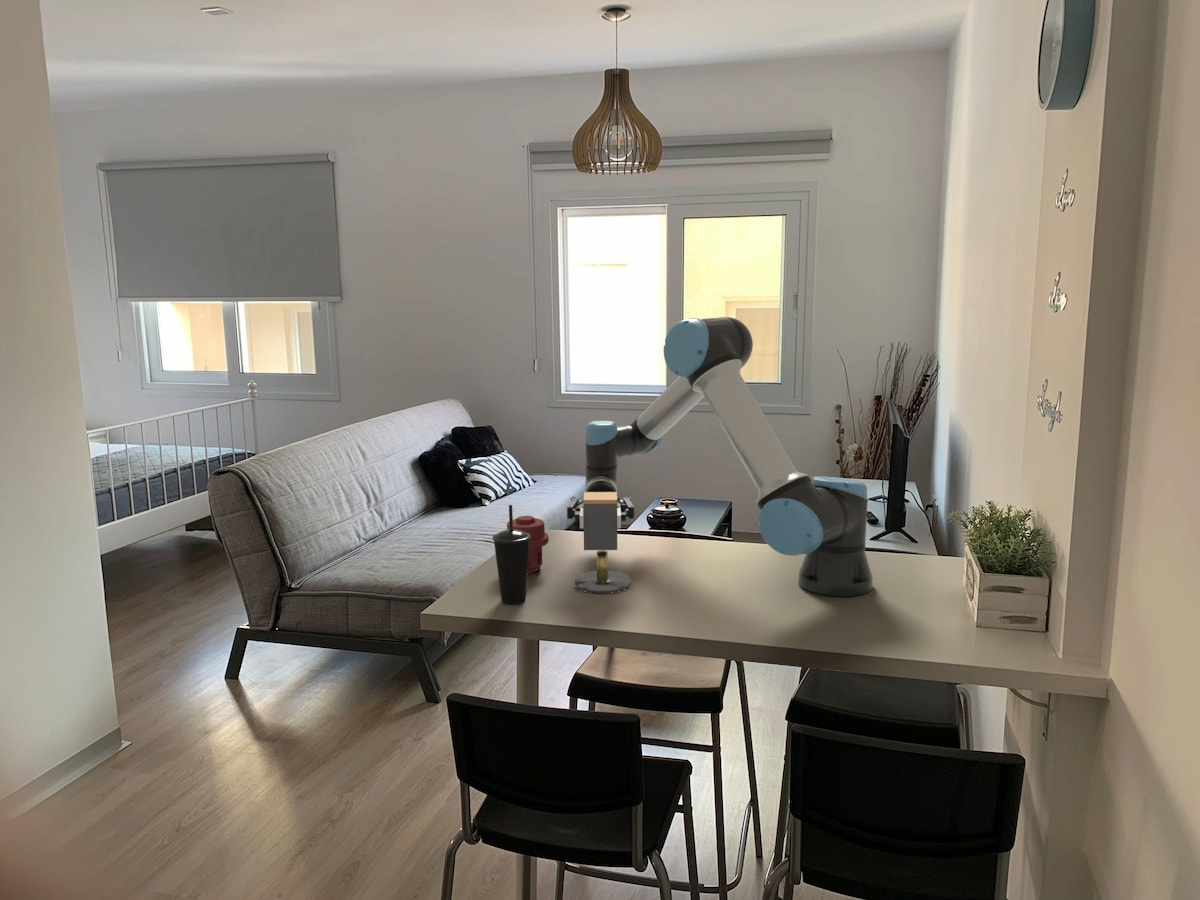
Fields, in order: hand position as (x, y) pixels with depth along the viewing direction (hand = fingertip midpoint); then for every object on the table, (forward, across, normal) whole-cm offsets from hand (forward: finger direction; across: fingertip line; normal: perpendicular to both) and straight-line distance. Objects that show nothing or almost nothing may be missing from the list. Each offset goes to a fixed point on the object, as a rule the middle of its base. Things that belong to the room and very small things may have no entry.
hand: (600, 522), depth 186 cm
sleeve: (-5, 0, -6) cm, 8 cm away
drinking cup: (+5, +18, -15) cm, 24 cm away
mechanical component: (-14, +17, -15) cm, 27 cm away
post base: (-5, 0, -15) cm, 16 cm away
